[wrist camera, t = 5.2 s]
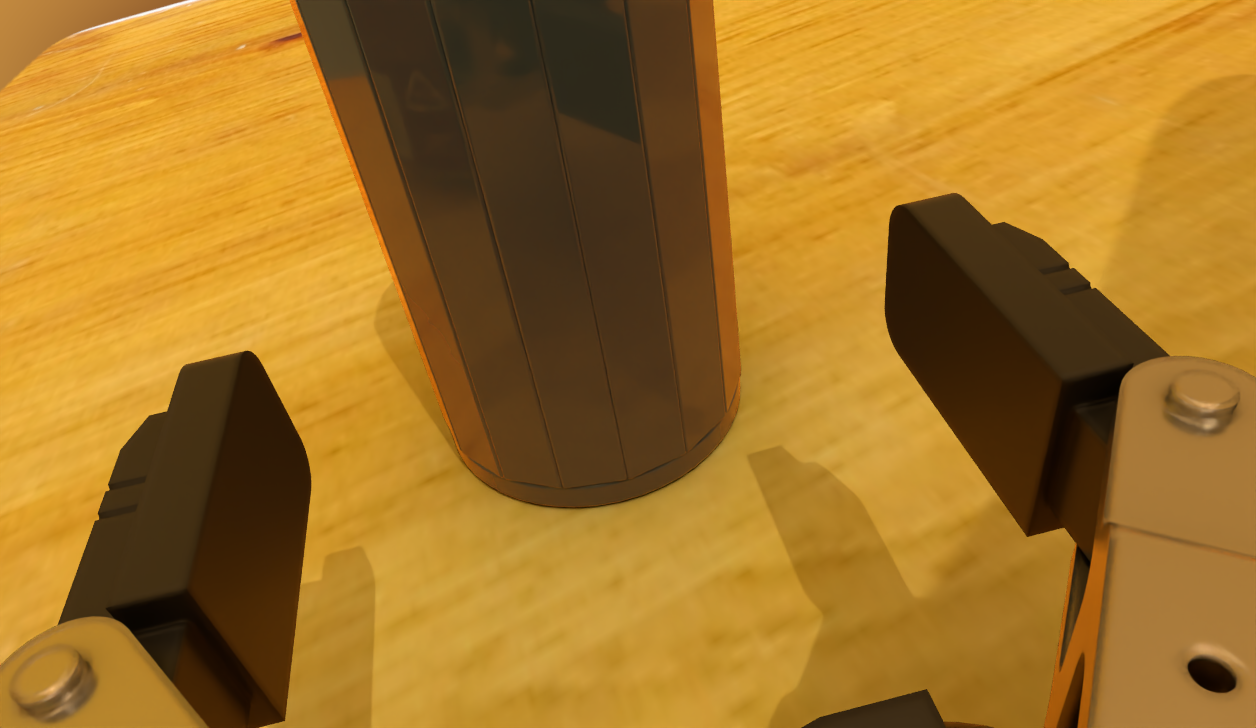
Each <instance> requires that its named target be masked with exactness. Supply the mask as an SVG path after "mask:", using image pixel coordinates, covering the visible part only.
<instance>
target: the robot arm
mask: <svg viewBox="0 0 1256 728" xmlns="http://www.w3.org/2000/svg"><path fill="white" fill-rule="evenodd" d="M885 317H886V323H887V328H888V332H889V335H890V338H891V341H892V343H893V345H894V347H895V349H896V351H897V353H898V354H899V356H900V357H901V359H902V360H903V361H904V363H905V364H906V366H907V367H908V368H909V370H910V371H911V373H912V374H913V376H914V377H915V378H916V380H917V381H918V383H919V384H920V386H921V387H922V388H923V390H924V391H925V393H926V394H927V395H928V397H929V398H930V400H931V401H932V403H933V404H934V405H935V407H936V408H937V410H938V411H939V412H940V414H941V415H942V417H943V418H944V420H945V421H946V422H947V424H948V425H949V427H950V428H951V429H952V431H953V432H954V434H955V435H956V437H957V438H958V439H959V441H960V442H961V444H962V445H963V446H964V448H965V449H966V451H967V452H968V454H969V455H970V456H971V458H972V459H973V461H974V462H975V463H976V465H977V466H978V468H979V469H980V471H981V472H982V473H983V475H984V476H985V478H986V479H987V481H988V482H989V483H990V485H991V486H992V488H993V489H994V490H995V492H996V493H997V495H998V496H999V498H1000V499H1001V500H1002V502H1003V503H1004V505H1005V506H1006V507H1007V509H1008V510H1009V512H1010V513H1011V515H1012V516H1013V517H1014V519H1015V520H1016V522H1017V523H1018V524H1019V526H1020V527H1021V529H1022V530H1023V532H1024V533H1025V534H1026V536H1027V537H1029V536H1032V535H1036V534H1040V533H1044V532H1048V531H1052V530H1056V529H1060V528H1065V529H1066V530H1067V532H1068V533H1069V534H1070V536H1071V537H1072V538H1073V540H1074V541H1075V542H1076V544H1075V548H1074V551H1073V555H1072V558H1071V563H1070V570H1069V576H1068V583H1067V590H1066V596H1065V603H1064V610H1063V616H1062V623H1061V629H1060V636H1059V643H1058V649H1057V656H1056V663H1055V669H1054V676H1053V682H1052V689H1051V694H1050V700H1049V705H1048V710H1047V714H1046V719H1045V723H1044V727H1043V728H1256V378H1255V377H1254V376H1252V375H1250V374H1248V373H1247V372H1245V371H1243V370H1241V369H1238V368H1236V367H1233V366H1231V365H1228V364H1225V363H1222V362H1218V361H1215V360H1210V359H1205V358H1199V357H1190V356H1169V355H1168V354H1167V353H1166V352H1165V351H1164V350H1163V349H1162V348H1161V347H1160V346H1159V345H1157V344H1156V343H1155V342H1154V341H1153V340H1152V339H1151V338H1150V337H1149V336H1148V335H1147V334H1145V333H1144V332H1143V331H1142V330H1141V329H1140V328H1139V327H1138V326H1137V325H1136V324H1135V323H1133V322H1132V321H1131V320H1130V319H1129V318H1128V317H1127V316H1126V315H1125V314H1124V313H1123V312H1121V311H1120V310H1119V309H1118V308H1117V307H1116V306H1115V305H1114V304H1113V303H1112V302H1111V301H1109V300H1108V299H1107V298H1106V297H1105V296H1104V295H1103V294H1102V293H1101V292H1100V291H1098V290H1097V289H1096V288H1093V289H1091V287H1090V282H1089V281H1088V280H1086V279H1085V278H1084V277H1083V276H1082V275H1081V274H1080V273H1079V272H1078V271H1077V270H1076V269H1074V268H1072V269H1070V268H1069V263H1068V262H1067V261H1066V260H1065V259H1064V258H1062V257H1061V256H1060V255H1059V254H1058V253H1057V252H1056V251H1055V250H1054V249H1053V248H1052V247H1050V246H1049V245H1048V244H1047V243H1046V242H1045V241H1044V240H1043V239H1041V238H1039V237H1036V236H1034V235H1032V234H1030V233H1027V232H1025V231H1023V230H1021V229H1019V228H1016V227H1014V226H1012V225H1010V224H1007V223H1005V222H1002V223H998V224H993V225H991V224H990V223H989V222H988V221H987V220H986V219H985V218H984V217H983V216H982V215H981V214H980V213H979V212H978V211H977V210H976V209H975V208H974V207H973V206H972V205H971V204H970V203H969V202H968V201H967V200H966V199H965V198H964V197H962V196H961V195H959V194H957V193H951V194H947V195H942V196H938V197H933V198H929V199H925V200H920V201H916V202H911V203H907V204H902V205H898V206H896V207H895V208H894V209H893V211H892V213H891V216H890V222H889V236H888V254H887V272H886V290H885ZM108 485H109V488H110V490H109V491H106V492H105V495H104V498H103V500H102V503H101V506H100V509H99V511H98V515H99V520H97V521H95V523H94V525H93V528H92V531H91V534H90V537H89V539H88V542H87V545H86V548H85V550H84V553H83V556H82V559H81V562H80V564H79V567H78V570H77V573H76V576H75V578H74V581H73V584H72V587H71V589H70V592H69V595H68V598H67V601H66V603H65V606H64V609H63V612H62V615H61V617H60V620H59V623H58V625H57V626H55V627H53V628H51V629H49V630H47V631H45V632H43V633H41V634H39V635H38V636H36V637H34V638H33V639H31V640H30V641H28V642H27V643H25V644H24V645H23V646H22V647H20V648H19V649H18V650H16V651H15V652H14V653H13V654H12V655H11V656H10V657H9V658H7V659H6V660H5V661H4V662H3V663H2V664H1V665H0V728H259V727H263V726H267V725H270V724H274V723H278V722H282V721H285V715H286V706H287V698H288V689H289V680H290V671H291V662H292V654H293V645H294V636H295V627H296V618H297V610H298V601H299V592H300V583H301V574H302V566H303V557H304V548H305V539H306V530H307V522H308V513H309V504H310V495H311V473H310V467H309V462H308V458H307V454H306V451H305V448H304V445H303V443H302V441H301V438H300V436H299V434H298V433H297V431H296V429H295V427H294V425H293V423H292V421H291V419H290V417H289V415H288V413H287V411H286V409H285V408H284V406H283V404H282V402H281V400H280V398H279V396H278V394H277V392H276V390H275V388H274V386H273V384H272V383H271V381H270V379H269V377H268V375H267V373H266V371H265V369H264V367H263V365H262V364H261V362H260V360H259V359H258V358H257V356H256V355H255V354H254V353H252V352H251V351H244V352H239V353H235V354H230V355H226V356H222V357H217V358H213V359H208V360H204V361H199V362H195V363H191V364H186V365H185V366H183V367H182V369H181V371H180V373H179V376H178V379H177V382H176V385H175V388H174V392H173V395H172V398H171V401H170V404H169V407H168V411H167V412H163V413H159V414H154V415H150V416H149V417H148V418H147V419H146V420H145V421H144V423H143V424H142V425H141V426H140V427H139V428H138V430H137V431H136V432H135V433H134V434H133V436H132V437H131V438H130V439H129V440H128V442H127V443H126V444H125V445H124V446H123V448H122V449H121V450H120V453H119V456H118V459H117V461H116V464H115V467H114V470H113V472H112V475H111V478H110V481H109V484H108ZM802 728H993V727H989V726H984V725H976V724H968V723H960V722H943V720H942V718H941V716H940V714H939V712H938V710H937V708H936V706H935V704H934V702H933V700H932V698H931V696H930V694H929V692H928V690H927V689H926V690H922V691H918V692H915V693H911V694H907V695H903V696H899V697H895V698H892V699H888V700H884V701H880V702H876V703H872V704H869V705H865V706H861V707H857V708H853V709H850V710H846V711H842V712H838V713H834V714H830V715H827V716H823V717H819V718H818V719H816V720H814V721H812V722H811V723H809V724H807V725H806V726H804V727H802Z"/></svg>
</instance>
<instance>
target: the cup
mask: <svg viewBox="0 0 1256 728" xmlns="http://www.w3.org/2000/svg"><path fill="white" fill-rule="evenodd" d="M289 1H290V3H291V6H292V9H293V11H294V14H295V17H296V20H297V22H298V25H299V28H300V30H301V33H302V36H303V39H304V41H305V44H306V47H307V49H308V52H309V55H310V57H311V60H312V63H313V66H314V68H315V71H316V74H317V76H318V79H319V82H320V84H321V87H322V90H323V93H324V95H325V98H326V101H327V103H328V106H329V109H330V112H331V114H332V117H333V120H334V122H335V125H336V128H337V130H338V133H339V136H340V139H341V141H342V144H343V147H344V149H345V152H346V155H347V157H348V160H349V163H350V166H351V168H352V171H353V174H354V176H355V179H356V182H357V184H358V187H359V190H360V193H361V195H362V198H363V201H364V203H365V206H366V209H367V212H368V214H369V217H370V220H371V222H372V225H373V228H374V230H375V233H376V236H377V239H378V241H379V244H380V247H381V249H382V252H383V255H384V257H385V260H386V263H387V266H388V268H389V271H390V274H391V276H392V279H393V282H394V285H395V287H396V290H397V293H398V295H399V298H400V301H401V303H402V306H403V309H404V312H405V314H406V317H407V320H408V322H409V325H410V328H411V330H412V333H413V336H414V339H415V341H416V344H417V347H418V349H419V352H420V355H421V357H422V360H423V363H424V366H425V368H426V371H427V374H428V376H429V379H430V382H431V385H432V387H433V390H434V393H435V395H436V398H437V401H438V403H439V406H440V409H441V412H442V414H443V417H444V419H445V421H446V423H447V425H448V427H449V429H450V431H451V434H452V436H453V439H454V442H455V444H456V447H457V450H458V452H459V454H460V456H461V458H462V459H463V461H464V462H465V464H466V465H467V467H468V468H469V469H470V470H471V471H472V472H473V473H474V474H475V475H476V476H477V477H478V478H480V479H481V480H482V481H484V482H485V483H486V484H487V485H489V486H490V487H492V488H494V489H496V490H498V491H499V492H501V493H503V494H505V495H508V496H511V497H513V498H516V499H519V500H522V501H526V502H530V503H534V504H538V505H546V506H554V507H589V506H600V505H605V504H611V503H616V502H621V501H625V500H628V499H632V498H635V497H638V496H642V495H644V494H647V493H649V492H652V491H654V490H657V489H659V488H661V487H663V486H665V485H667V484H669V483H671V482H673V481H675V480H677V479H678V478H680V477H682V476H683V475H684V474H686V473H687V472H689V471H690V470H692V469H693V468H695V467H696V466H697V465H698V464H699V463H701V462H702V461H703V460H704V459H705V458H706V457H708V456H709V455H710V454H711V452H712V451H713V450H714V449H715V448H716V447H717V446H718V445H719V443H720V442H721V441H722V439H723V438H724V436H725V435H726V433H727V432H728V430H729V429H730V426H731V424H732V422H733V420H734V418H735V415H736V413H737V409H738V405H739V401H740V376H741V362H740V349H739V336H738V322H737V309H736V296H735V283H734V270H733V257H732V243H731V230H730V217H729V204H728V191H727V177H726V164H725V151H724V138H723V125H722V111H721V98H720V85H719V72H718V59H717V46H716V32H715V19H714V6H713V0H289Z"/></svg>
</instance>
